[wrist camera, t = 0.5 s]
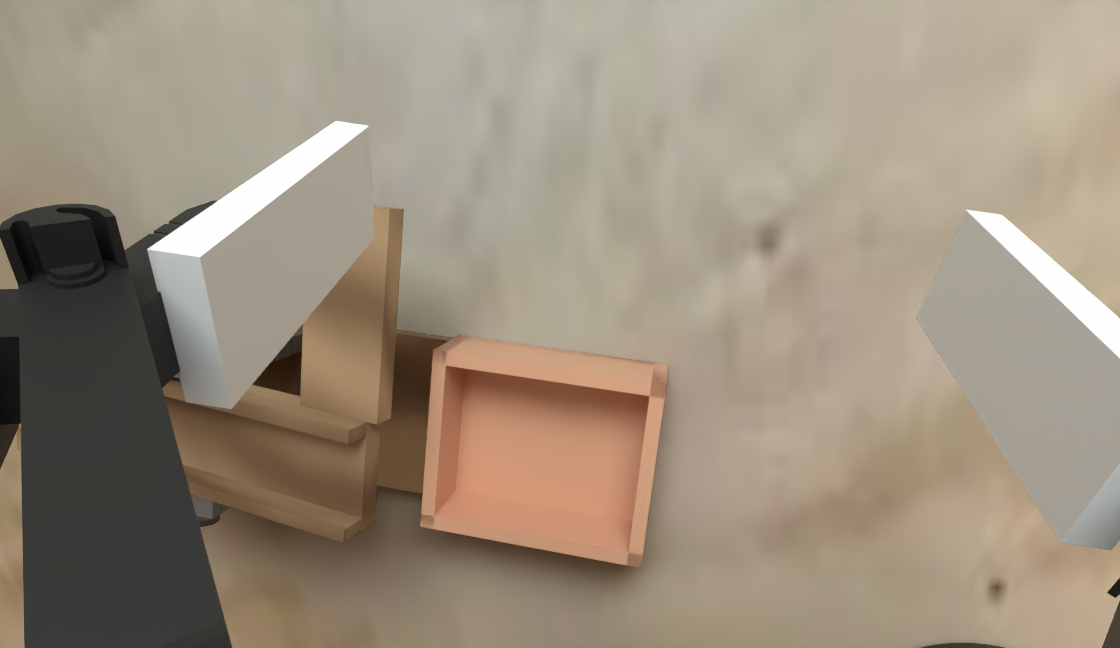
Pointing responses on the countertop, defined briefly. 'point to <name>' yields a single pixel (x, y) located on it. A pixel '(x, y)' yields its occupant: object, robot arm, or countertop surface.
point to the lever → (308, 410)
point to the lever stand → (397, 435)
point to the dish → (542, 447)
